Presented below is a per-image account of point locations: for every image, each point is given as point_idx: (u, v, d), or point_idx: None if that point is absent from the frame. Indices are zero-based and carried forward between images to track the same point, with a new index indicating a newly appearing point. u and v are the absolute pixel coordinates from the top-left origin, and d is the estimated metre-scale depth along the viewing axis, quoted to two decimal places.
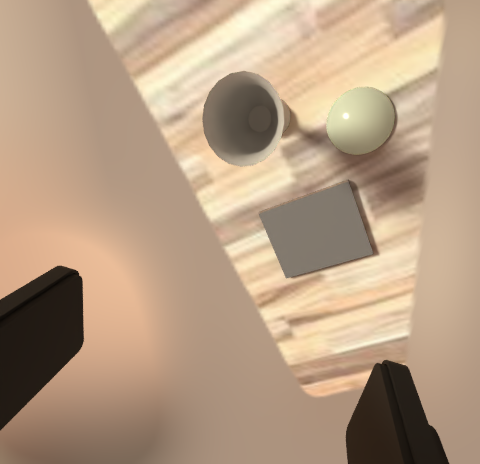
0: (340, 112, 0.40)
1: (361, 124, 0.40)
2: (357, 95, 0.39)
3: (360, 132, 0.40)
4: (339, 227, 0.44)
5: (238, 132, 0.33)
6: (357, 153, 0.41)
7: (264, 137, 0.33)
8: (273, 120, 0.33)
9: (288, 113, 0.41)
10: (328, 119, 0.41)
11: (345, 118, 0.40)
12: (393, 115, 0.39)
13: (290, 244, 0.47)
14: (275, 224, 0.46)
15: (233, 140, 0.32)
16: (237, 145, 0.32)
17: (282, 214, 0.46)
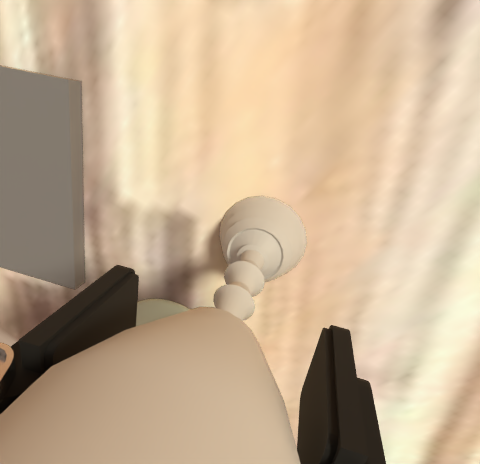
0: None
1: None
2: None
3: None
4: None
5: None
6: None
7: None
8: None
9: None
10: None
11: None
12: None
13: None
14: (32, 106, 0.18)
15: (121, 358, 0.06)
16: None
17: (50, 137, 0.18)
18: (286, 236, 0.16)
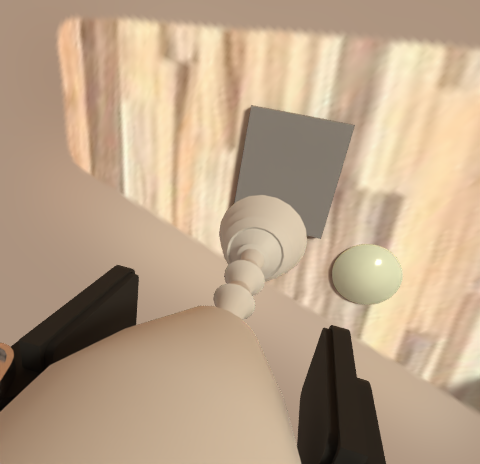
0: (385, 263, 0.38)
1: (363, 276, 0.39)
2: (393, 282, 0.38)
3: (355, 273, 0.39)
4: None
5: None
6: (335, 264, 0.39)
7: None
8: None
9: None
10: (384, 251, 0.37)
11: (376, 265, 0.38)
12: (357, 302, 0.40)
13: (292, 139, 0.35)
14: (327, 138, 0.34)
15: (120, 356, 0.06)
16: None
17: (333, 153, 0.34)
18: (286, 235, 0.16)
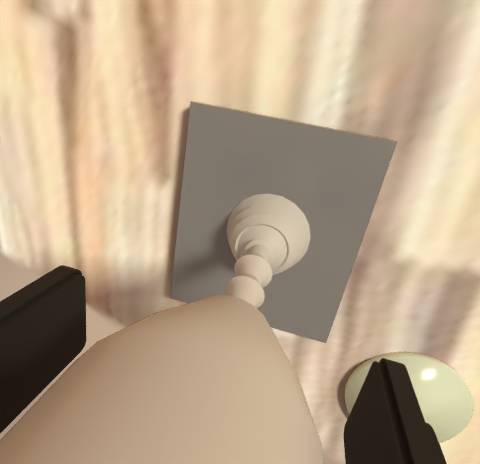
0: (438, 384, 0.21)
1: None
2: (457, 411, 0.21)
3: None
4: None
5: None
6: (348, 390, 0.23)
7: None
8: None
9: None
10: (432, 365, 0.20)
11: (422, 388, 0.21)
12: None
13: (270, 167, 0.18)
14: (340, 166, 0.17)
15: (159, 333, 0.07)
16: None
17: (351, 196, 0.17)
18: (291, 232, 0.17)
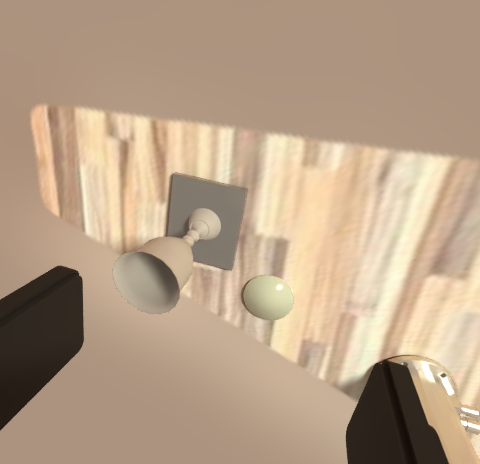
0: (275, 286, 0.49)
1: (266, 300, 0.51)
2: (287, 296, 0.50)
3: (260, 299, 0.51)
4: (199, 243, 0.49)
5: (171, 238, 0.37)
6: (244, 298, 0.51)
7: None
8: None
9: None
10: (269, 277, 0.49)
11: (270, 289, 0.50)
12: (273, 319, 0.52)
13: (204, 198, 0.46)
14: (228, 198, 0.46)
15: (161, 238, 0.35)
16: None
17: (234, 209, 0.46)
18: (210, 222, 0.46)
